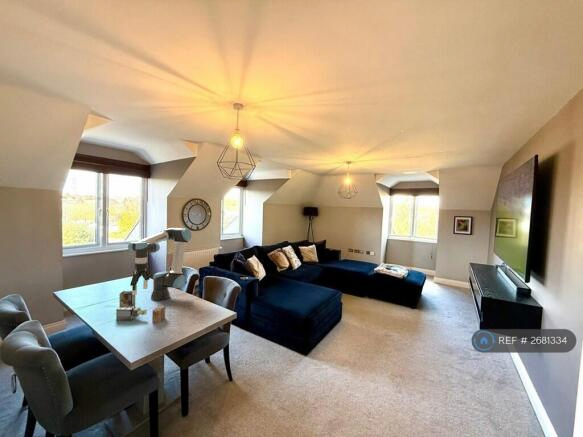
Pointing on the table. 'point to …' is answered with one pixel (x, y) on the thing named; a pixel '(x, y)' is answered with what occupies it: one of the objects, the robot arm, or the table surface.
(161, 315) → the tan box
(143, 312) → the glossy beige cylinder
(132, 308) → the sleeve
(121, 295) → the coffee box
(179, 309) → the table surface
